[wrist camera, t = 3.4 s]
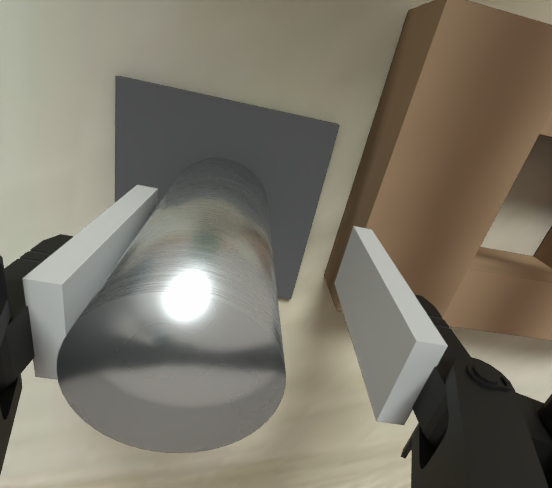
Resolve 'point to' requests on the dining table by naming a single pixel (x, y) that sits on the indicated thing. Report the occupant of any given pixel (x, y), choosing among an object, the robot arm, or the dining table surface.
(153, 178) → the pad
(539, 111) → the jig
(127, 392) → the brushed steel cylinder
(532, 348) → the dining table surface
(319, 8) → the dining table surface
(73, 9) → the dining table surface
